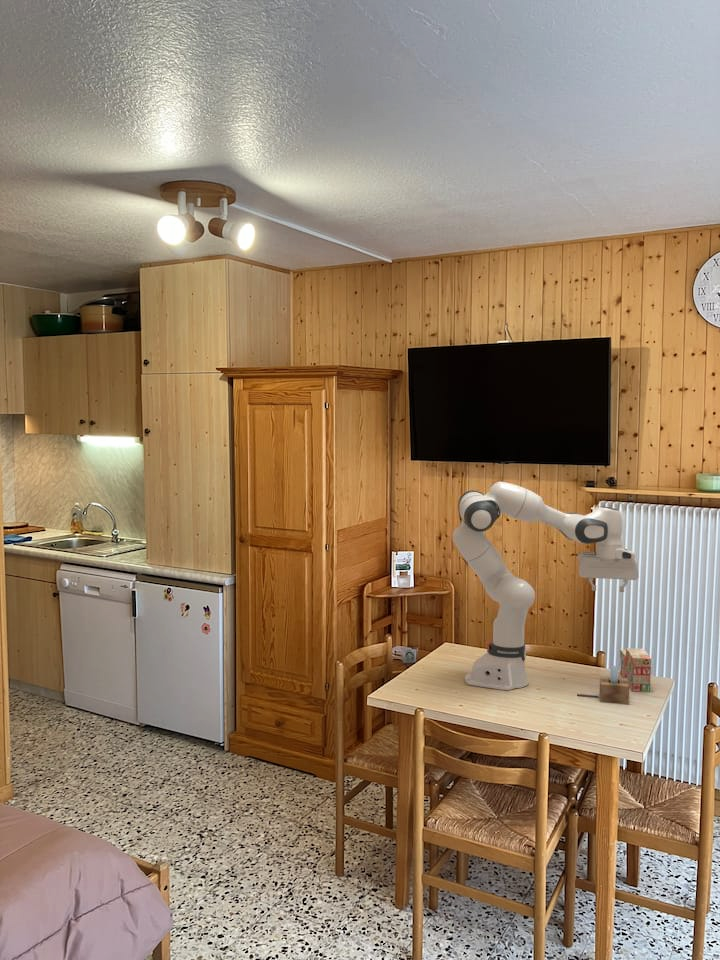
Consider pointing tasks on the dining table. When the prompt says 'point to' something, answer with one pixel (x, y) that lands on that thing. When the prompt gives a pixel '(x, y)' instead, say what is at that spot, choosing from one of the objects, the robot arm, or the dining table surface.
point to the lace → (587, 695)
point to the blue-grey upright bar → (614, 674)
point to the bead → (614, 691)
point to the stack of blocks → (636, 669)
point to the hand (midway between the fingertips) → (607, 591)
